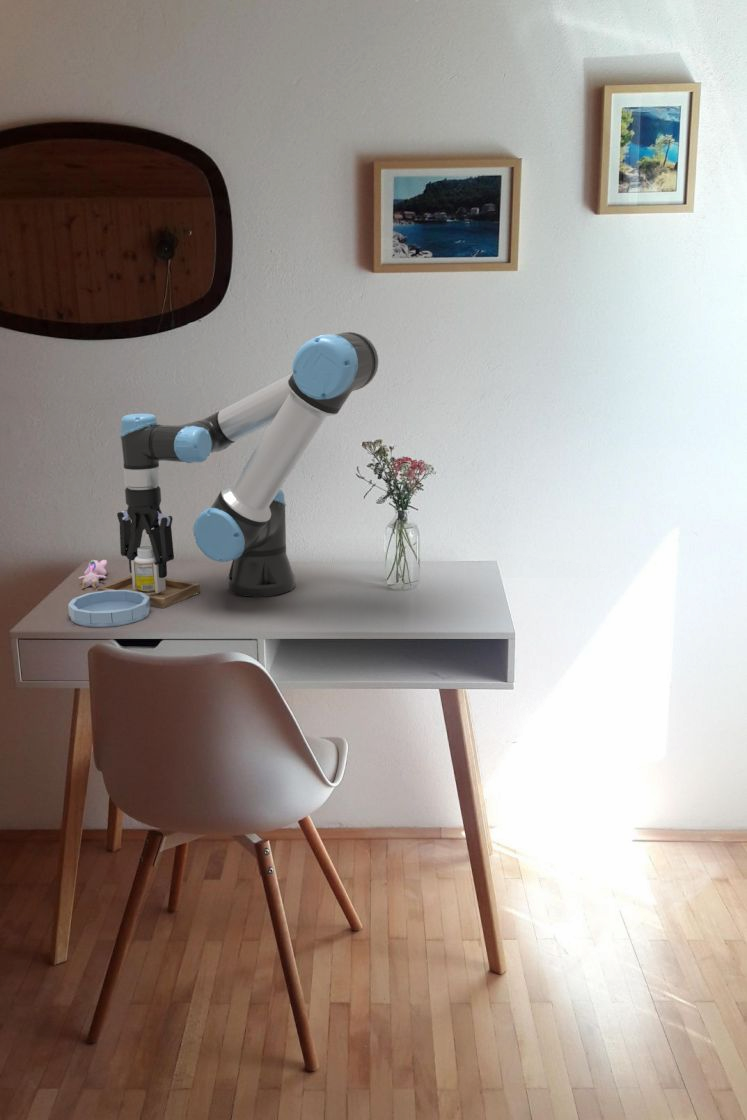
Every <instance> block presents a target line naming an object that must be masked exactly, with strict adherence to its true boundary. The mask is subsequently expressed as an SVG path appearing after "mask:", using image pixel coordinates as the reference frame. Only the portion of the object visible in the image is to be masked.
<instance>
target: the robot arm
mask: <svg viewBox="0 0 747 1120" xmlns="http://www.w3.org/2000/svg"><path fill="white" fill-rule="evenodd" d="M378 367H379V356H378V351H377V349H376V347H375V345H374V344H373V343H372V341H371V340H370V339H368V338H367V337H366V336H364V335H362V334H360V333H357V332H352V331H351V332H350V331H348V332H341V333H337V334H326V333H325V334H321V335H318V336H315V337H314V338H311V339H309V340H307V341H306V342H304V344H302V345H301V347H299V349H297V352H296V353H295V356H294V358H293V361H292V367H291V369H292V373H290V374H288V375H286V376H285V377H282V378H280V379H278V380H277V381H275V382H272V383H271V384H269V385H267V386H264V387H263V388H262V389H259V390H257V391H255V392H253V393H252V394H250V395H248V396H246V397H243V398H242V399H240V400H239V401H237V402H234V403H232V404H231V405H229V406H227V407H225V408H223V409H221V410H219V411H218V412H217V411H216V412H215V413H213V414H211V415H209V416H207V417H206V418H202V419H201V420H196V421H195V420H194V421H192V422H187V423H184V424H178V425H166V424H165V425H164V424H158V422H157V417H156V415H154V414H152V413H131V414H127V415H124V416H122V418H121V421H120V439H121V448H122V449H121V450H122V457H123V458H122V459H123V462H122V463H123V480H124V481H123V483H124V486H126V488H125V489H124V495H125V504H126V505H127V509H126V510H122V511H119V512H117V514H116V516H117V520H118V523H119V544H120V547H119V548H120V555H121V556H122V557H126V558H127V560H128V565H129V573H130V574H131V576H132V582H133V589H137V587H136V574H135V562H134V559H135V557H137V556H138V554H137V549H138V548H139V547H141V545H142V544H141V543H142V538H143V531H144V530H145V533H146V535H147V536H148V537H149V541H150V542H149V543H150V546H152V549H153V552H154V556H155V559H156V562H155V563H154V564H153V566H154V582H155V593H159V592H162V591H164V590H166V585H165V579H166V578H167V576H168V568H167V567H168V566H167V565H168V564H167V563H168V562H170V561H173V560H174V559H175V555H174V554H175V552H174V543H173V541H174V540H173V532H172V531H173V530H172V524H173V516H171V515H165V514H163V513H162V511H161V506H160V505H161V503H162V493H161V492H162V491H161V487H160V486H159V485H160V484H161V479H160V478H161V476H160V475H161V474H160V464H159V461H163V462H164V461H165V462H177V463H178V462H179V463H186V464H192V463H203V462H205V461H206V460H207V459H208V457H209V456H211V455H210V454H211V453H215V452H216V453H217V452H218V453H219V452H221V451H223V450H225V449H227V448H229V447H230V446H232V444H234V443H236V442H238V441H239V440H241V439H244V438H246V437H248V436H249V435H252V434H254V433H256V432H258V431H260V430H262V429H264V428H266V427H267V426H268V428H267V429H266V431H265V432H264V434H263V436H262V438H261V439H260V441H259V442H258V443H257V446H256V447H255V449H254V451H253V452H252V453H251V455H250V457H249V459H248V460H247V462H246V464H245V465H244V467H243V468H242V469H241V472H240V473H239V475H238V476H237V478H236V479H235V481H234V482H233V484H227V485H225V486H223V487H222V488H221V490H220V491H219V493H218V495H217V497H216V499H215V500H214V502H213V504H212V505H211V506H210V507H209V508H205V509H204V510H202V512H201V513H200V514H198V515H197V517H196V518H195V521H194V523H193V536H194V538H195V544H196V545H197V547H198V549H199V550H200V552H202V553H203V554H204V555H205V557H207V558H209V559H210V560H212V561H215V562H219V563H226V562H230V561H232V563H231V566H230V570H229V573H228V576H227V590H228V591H229V592H230V593H232V594H235V595H239V596H243V597H256V598H259V597H273V596H278V594H279V595H282V594H281V593H283V594H286V593H288V592H287V591H289V590H291V589H292V590H294V589H295V587H296V582H295V581H296V579H295V574H294V572H293V569H292V566H291V563H290V560H289V558H288V555H287V554H288V553H287V539H286V538H287V535H286V533H287V532H286V530H287V529H286V506H287V505H286V501H285V494H284V491H283V490H282V489H281V488H282V487H283V485H284V484H285V482H286V481H287V479H288V477H289V476H290V474H291V473H292V472H293V470H294V469H295V467H296V464H297V463H298V462H299V460H300V459H301V457H302V456H303V454H304V453H305V451H306V449H307V448H308V446H309V445H310V444H311V442H312V440H313V439H314V437H315V435H316V434H317V432H318V431H319V429H320V427H321V425H322V424H323V423H324V421H325V420H326V418H327V417H331V416H336V415H337V414H338V413H339V412H340V410H341V409H342V407H343V406H344V404H345V403H346V401H347V400H348V398H349V397H350V395H351V394H352V392H354V391H358V390H361V389H362V388H365V387H366V386H367V385H369V384H370V382H372V381H373V379H374V377H375V376H376V374H377V372H378ZM294 586H295V587H294ZM293 588H294V589H293ZM292 590H291V591H292ZM285 592H286V593H285ZM289 592H290V591H289Z"/></svg>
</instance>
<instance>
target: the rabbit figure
mask: <svg viewBox="0 0 747 1120" xmlns="http://www.w3.org/2000/svg"><path fill="white" fill-rule="evenodd" d="M107 565H108V560H107V559H102V560H100V561H99V560H95V559H91V560H90V561H89V563H88V566H87V568H86V569H85V571H84V572H83V574H84V575H82V576H78V579H79V580H82V584H81V585H82V586H81V589H84V588H85V589H86V588H90V587H91V588H92V589H94V590H96V588H97V587H98V586H99V583H100V581H99V580H100V579H106V578H107V576H106V575H107V570H106V567H107ZM98 579H99V580H98Z"/></svg>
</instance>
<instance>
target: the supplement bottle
mask: <svg viewBox="0 0 747 1120" xmlns="http://www.w3.org/2000/svg"><path fill="white" fill-rule="evenodd" d="M137 554H138V556H137V557H135V559H134V562H135V574H136V587H137V592H142V593H144V594H145V595H156V594H158V593H155V582H154V566H153V564H154V563H155V562H156V559H155V556H154V552H153V549H152V545H143V546H140V547H139V548H138V549H137ZM159 593H160V592H159Z"/></svg>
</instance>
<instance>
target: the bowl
mask: <svg viewBox="0 0 747 1120" xmlns="http://www.w3.org/2000/svg"><path fill="white" fill-rule="evenodd" d="M67 607H68V608H67V609H68V615H69V617H70V621H71V622H72V623H74V624H76V625H79V626H83V627H90V628H91V627H92V628H109V627H118V626H125V625H129V624H134V623H136V622H140V621H142V620H144V619H145V618H146V617H148V616H149V615H150V608H151V606H150V598H149V597H148V596H147V595H145V594H144V593H142V592H137V591H131V590H105V591H99V592H98V591H94V592H88V593H84V594H82V595H79V596H76V597H74V598H72V599H71V601H70V602H69V603H68V604H67Z"/></svg>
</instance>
